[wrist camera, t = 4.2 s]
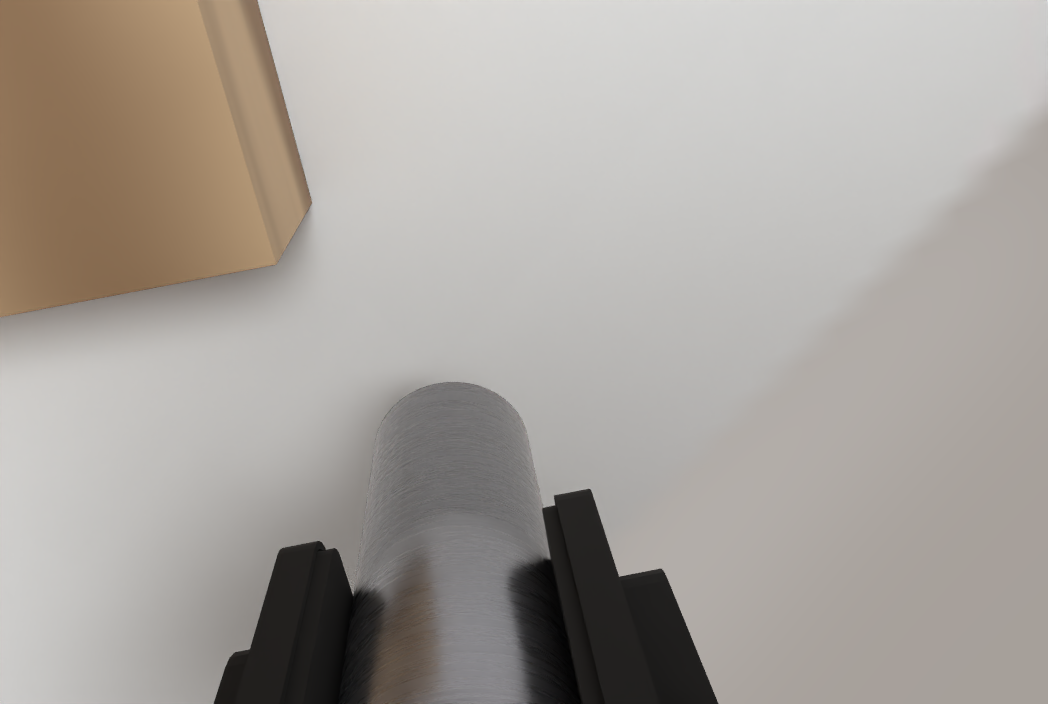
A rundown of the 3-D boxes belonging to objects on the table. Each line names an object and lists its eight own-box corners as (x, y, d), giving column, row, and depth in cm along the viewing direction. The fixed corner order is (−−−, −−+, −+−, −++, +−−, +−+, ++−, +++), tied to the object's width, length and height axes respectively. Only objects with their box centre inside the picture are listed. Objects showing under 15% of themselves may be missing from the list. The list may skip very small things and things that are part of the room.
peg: (516, 368, 14) (759, 1473, 4) (539, 499, 16) (773, 1614, 5) (357, 398, 14) (106, 1629, 3) (394, 527, 16) (293, 1732, 5)
